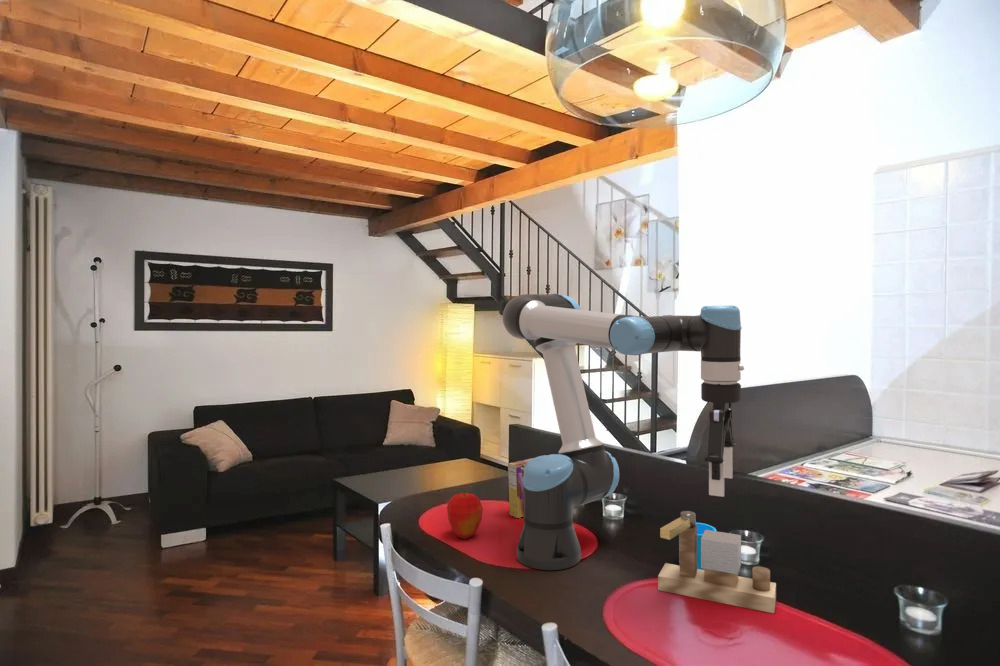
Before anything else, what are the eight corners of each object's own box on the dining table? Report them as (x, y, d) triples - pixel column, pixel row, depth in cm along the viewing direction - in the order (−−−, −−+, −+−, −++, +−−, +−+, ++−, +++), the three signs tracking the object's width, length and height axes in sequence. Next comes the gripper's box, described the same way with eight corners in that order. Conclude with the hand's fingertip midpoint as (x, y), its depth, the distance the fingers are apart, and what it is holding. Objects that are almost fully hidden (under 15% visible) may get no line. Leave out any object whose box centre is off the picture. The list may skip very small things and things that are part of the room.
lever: (684, 521, 126) (684, 510, 126) (698, 524, 124) (698, 513, 124) (658, 536, 118) (657, 524, 118) (672, 540, 116) (671, 528, 116)
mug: (704, 574, 131) (704, 538, 130) (672, 563, 137) (672, 528, 137) (731, 559, 139) (731, 524, 138) (699, 549, 145) (699, 516, 144)
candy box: (532, 508, 176) (531, 457, 176) (541, 512, 173) (540, 460, 172) (508, 515, 171) (507, 462, 170) (517, 519, 167) (516, 465, 167)
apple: (489, 535, 156) (489, 489, 155) (465, 545, 149) (464, 498, 149) (464, 527, 162) (464, 483, 161) (440, 536, 155) (439, 491, 155)
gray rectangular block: (701, 567, 120) (701, 538, 120) (705, 557, 125) (705, 529, 125) (738, 574, 117) (738, 544, 117) (741, 563, 122) (740, 535, 122)
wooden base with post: (658, 590, 124) (657, 527, 123) (665, 576, 130) (665, 517, 130) (774, 613, 114) (774, 545, 113) (776, 597, 120) (776, 533, 119)
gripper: (733, 390, 107) (734, 506, 108) (746, 376, 129) (747, 472, 130) (690, 388, 110) (691, 501, 111) (710, 374, 133) (711, 469, 133)
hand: (721, 486), depth 120 cm, fingers open, 13 cm apart
